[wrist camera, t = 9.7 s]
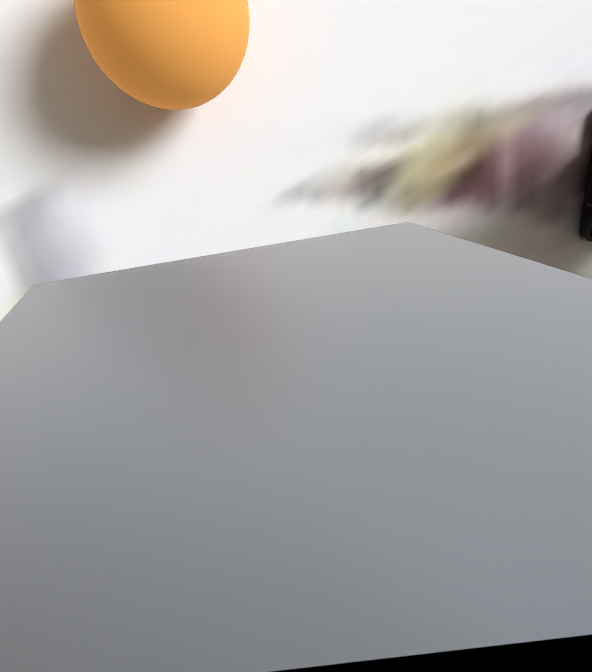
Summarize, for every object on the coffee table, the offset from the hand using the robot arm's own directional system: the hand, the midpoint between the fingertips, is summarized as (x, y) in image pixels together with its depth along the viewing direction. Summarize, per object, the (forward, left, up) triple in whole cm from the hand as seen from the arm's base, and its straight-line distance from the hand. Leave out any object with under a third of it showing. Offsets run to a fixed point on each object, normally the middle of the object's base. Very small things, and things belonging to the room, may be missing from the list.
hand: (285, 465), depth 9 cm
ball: (0, -9, -10) cm, 14 cm away
